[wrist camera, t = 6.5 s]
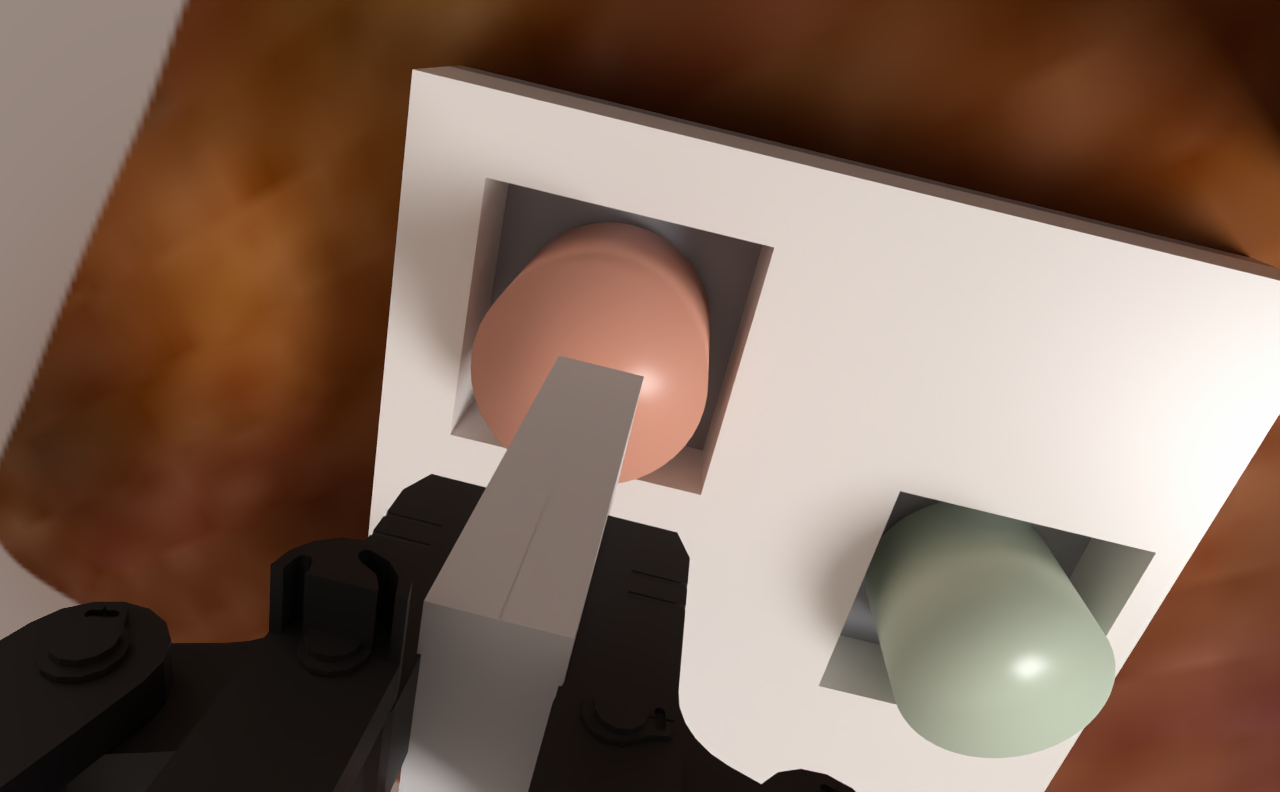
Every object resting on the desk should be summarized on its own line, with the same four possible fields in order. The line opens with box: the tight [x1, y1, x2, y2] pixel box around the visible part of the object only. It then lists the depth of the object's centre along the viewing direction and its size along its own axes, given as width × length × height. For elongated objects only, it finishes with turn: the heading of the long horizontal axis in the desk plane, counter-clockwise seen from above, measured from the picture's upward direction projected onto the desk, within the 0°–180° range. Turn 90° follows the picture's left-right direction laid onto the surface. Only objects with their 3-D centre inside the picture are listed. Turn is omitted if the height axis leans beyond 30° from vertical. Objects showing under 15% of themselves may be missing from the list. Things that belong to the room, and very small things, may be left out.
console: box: [368, 65, 1280, 792], centre depth 22 cm, size 20×20×3 cm
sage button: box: [865, 502, 1116, 758], centre depth 21 cm, size 5×5×4 cm
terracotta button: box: [470, 222, 710, 483], centre depth 19 cm, size 5×5×4 cm
